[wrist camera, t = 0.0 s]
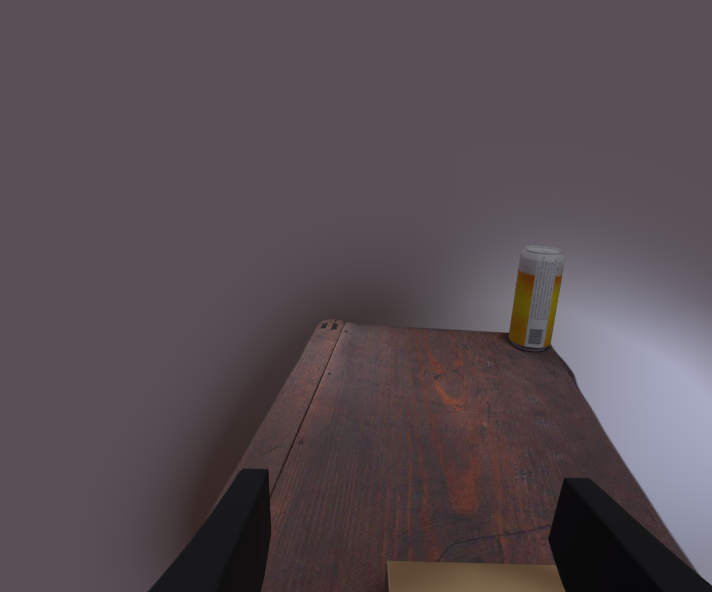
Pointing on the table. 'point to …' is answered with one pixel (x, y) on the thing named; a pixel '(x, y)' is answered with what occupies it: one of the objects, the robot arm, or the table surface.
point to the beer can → (536, 297)
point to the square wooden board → (470, 577)
